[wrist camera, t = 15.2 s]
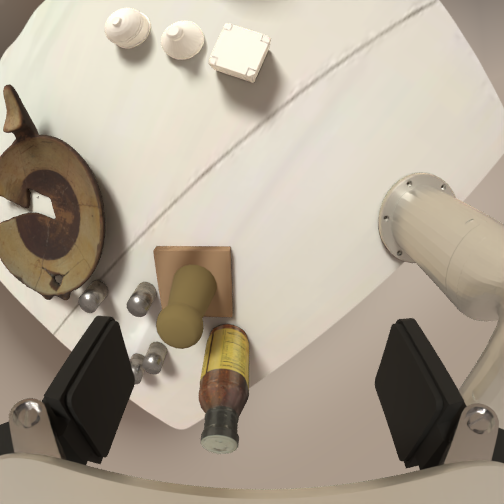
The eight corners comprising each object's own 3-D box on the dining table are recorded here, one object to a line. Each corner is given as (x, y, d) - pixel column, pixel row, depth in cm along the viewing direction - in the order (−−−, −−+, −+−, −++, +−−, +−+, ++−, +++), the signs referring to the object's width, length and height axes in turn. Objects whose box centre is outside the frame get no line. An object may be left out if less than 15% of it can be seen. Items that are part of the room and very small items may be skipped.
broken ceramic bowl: (5, 259, 43) (-21, 279, 36) (19, 83, 32) (-15, 83, 25) (108, 302, 46) (88, 330, 39) (144, 101, 34) (119, 98, 27)
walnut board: (230, 246, 41) (229, 251, 40) (232, 311, 45) (232, 317, 44) (156, 246, 42) (153, 250, 40) (165, 309, 46) (163, 314, 44)
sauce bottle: (227, 358, 49) (214, 465, 31) (200, 334, 47) (174, 442, 29) (259, 339, 47) (258, 450, 29) (232, 313, 46) (218, 425, 27)
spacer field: (154, 282, 44) (145, 298, 40) (171, 369, 51) (165, 387, 46) (89, 279, 44) (76, 294, 40) (113, 362, 51) (105, 379, 47)
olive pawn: (205, 310, 44) (192, 364, 34) (166, 291, 43) (142, 341, 33) (224, 277, 42) (214, 328, 31) (182, 256, 40) (159, 302, 30)
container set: (270, 47, 32) (271, 35, 27) (253, 84, 34) (252, 78, 29) (123, 10, 29) (105, -2, 24) (108, 45, 31) (88, 37, 26)
